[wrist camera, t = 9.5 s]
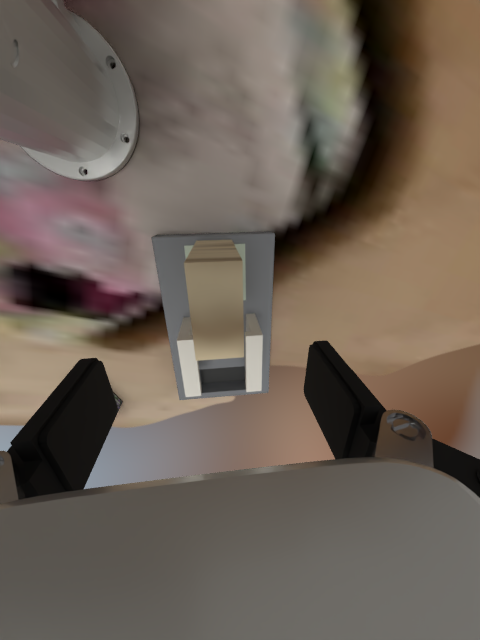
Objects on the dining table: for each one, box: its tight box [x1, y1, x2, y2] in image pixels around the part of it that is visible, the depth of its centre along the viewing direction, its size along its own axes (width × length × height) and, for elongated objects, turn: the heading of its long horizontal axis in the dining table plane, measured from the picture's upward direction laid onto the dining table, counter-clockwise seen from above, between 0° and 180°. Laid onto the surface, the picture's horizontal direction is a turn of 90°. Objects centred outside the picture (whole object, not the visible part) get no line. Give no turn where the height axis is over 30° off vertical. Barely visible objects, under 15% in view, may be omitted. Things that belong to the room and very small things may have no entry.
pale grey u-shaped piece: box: [177, 313, 263, 397], centre depth 30 cm, size 8×9×6 cm
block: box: [184, 240, 244, 361], centre depth 23 cm, size 8×4×12 cm, turn 1°
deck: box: [151, 232, 275, 400], centre depth 33 cm, size 24×14×3 cm, turn 1°
